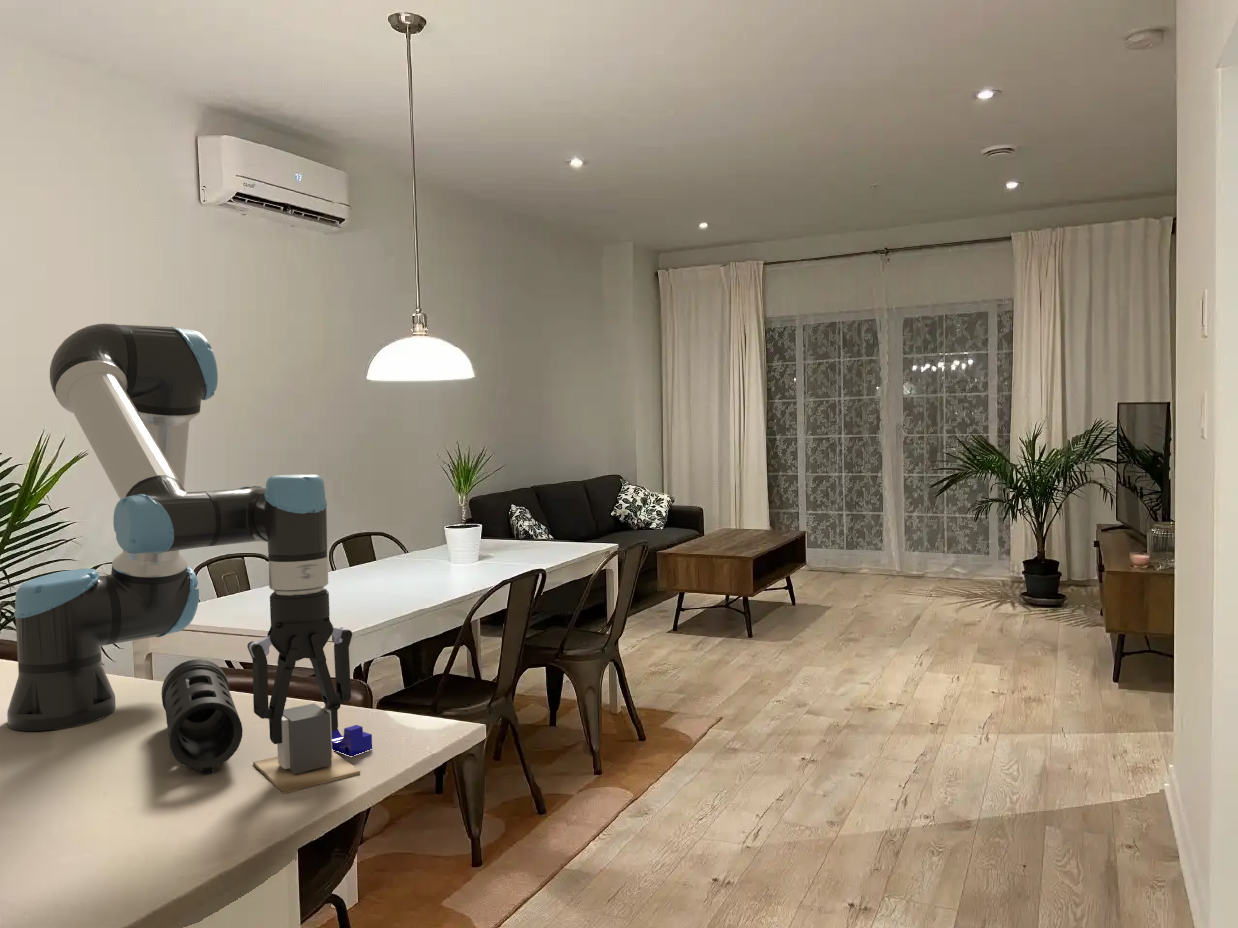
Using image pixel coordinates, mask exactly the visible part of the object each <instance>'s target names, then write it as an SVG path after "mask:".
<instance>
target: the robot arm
mask: <svg viewBox="0 0 1238 928" xmlns="http://www.w3.org/2000/svg"><path fill="white" fill-rule="evenodd" d="M218 373H219V372H218V364H217V359H216V356H215V353H214V350H213V348H212V346H211V343H210V342H209V341H208V340H207V338H206V337H205V336H204V335H203V334H202V333H201V332H199V331H196V330H194V329H187V328H181V327H180V328H179V327H174V326H160V325H159V326H158V325H156V326H155V325H138V324H133V325H132V324H115V323H97V324H92V325H88V326H85V327H82V328H81V329H79V330H77V331H75V332H74V333H71V335H69V336H68V337H67V338H64V340H63V342H62V343H61V344H60V345H59V346H58V347H57V349H56V350H55V352H54V354H53V356H52V360H51V362H50V367H49V381H50V382H49V383H50V385H51V390H52V392H53V394H54V396H55V398H56V400H57V402H58V403H59V404H60V407H62V408H64V410H66V411H68V412H70V413H71V414H74V417H75V418H76V420H77V422H78V424H79V426H80V427H81V430H82V431H83V433H84V435H85V437H86V439H87V441H88V443H89V445H90V446H91V448H92V450H93V452H94V453H95V456H96V457H97V459H98V461H99V463H100V465H101V466H102V467H101V468H102V469H103V470H104V472H105V475H106V476H107V478H108V480H109V482H110V484H111V486H112V487H113V488H114V490H115V493H116V494H117V496H118V498H119V500H118V501H117V503H116V505H115V507H114V511H113V521H112V522H113V530H114V532H115V540H116V542H117V544H118V546H119V547H120V548H121V549H122V552H121V553H120V554H118V555H117V556H116V557H115V558H113V559H112V562H111V573H110V574H107V575H105V574H104V575H100V573H98V570H96V569H94V568H78V569H77V568H76V569H72V570H64V571H63V570H62V571H58V572H53V573H50V574H49V573H48V574H45V575H42V576H38V577H35V578H32V579H30V580H28V581H26V582H24V583H22V584H21V585H20V586H19V587H18V588H17V589H16V592H15V602H14V612H13V616H14V618H15V630H16V633H15V634H16V647H17V649H16V650H17V652H16V653H17V667H18V668H17V670H18V675H17V679H16V682H15V686H14V690H13V692H12V696H11V698H10V699H11V700H10V702H9V705H8V709H7V713H6V715H7V726H8V727H9V728H10V729H12V730H15V731H23V732H39V731H40V732H41V731H51V730H59V729H65V728H71V727H72V728H73V727H77V726H81V725H86V724H89V723H93V722H95V721H99V720H101V719H103V718H105V717H108V716H110V715H111V714H113V713H114V712H115V711H116V709H117V708H116V707H117V705H116V703H117V701H116V694H115V691H114V690H113V687H112V685H111V683H110V680H109V678H108V676H107V674H106V671H105V669H104V666H103V664H102V662H103V661H102V647H103V646H109V645H110V646H111V645H115V644H120V643H127V642H128V643H129V642H132V641H138V640H139V641H140V640H145V639H150V638H151V639H152V638H162V637H164V636H167V635H171V634H175V633H179V632H182V631H184V630H185V628H187V627H188V626H189V625H190V624H191V623H192V621H193V620H194V617H195V616H196V614H197V610H198V606H199V599H200V589H199V588H198V585H199V580H198V577H197V575H196V574H197V573H195V571H194V569H192V568H191V567H190V566H188V561H187V559H186V558H185V557H184V556H183V555H181V554H180V551H184V550H192V549H198V548H207V547H215V546H216V547H218V546H226V545H228V546H229V545H237V544H244V543H245V544H247V543H254V542H255V543H256V542H263V543H267V553H268V554H267V555H268V556H267V559H268V587H269V589H270V590H272V591H273V592H272V593H271V594H270V595H269V613H270V614H269V615H270V628H269V630H268V632H267V636H265V637H263V638H261V639H259V640H257V641H253V640H252V641H250V642H248V644H247V647H246V648H247V649H248V652H249V654H250V657H251V659H252V661H251V662H252V694H253V695H252V696H253V699H252V700H253V701H252V702H253V713H254V714H255V715H256V716H257V717H259V718H260V719H263V720H265V719H267V720H268V721H269V723H268V725H269V739H270V742H271V743H272V744H274V745H277V756H278V764H279V765H280V766H282V767H283V768H284V769H288V768H290V749H289V723H288V719H287V718H286V717H284V716H283V712H284V709H286V708H285V707H286V702H287V697H288V693H289V688H290V684H291V679H292V674H293V671H294V669H295V667H296V663H297V662H298V661H300V660H302V659H309V660H310V662H311V665H312V669H313V672H314V675H315V679H316V682H317V685H318V689H319V691H320V694H321V698H322V702H323V704H324V705H323V706H320V707H321V708H322V709H324V710H325V711H327V712H328V713H330V731H331V758H333V755H332V731H337V728H338V729H339V717H338V715H339V712H338V710H339V709H340V708H341V707H342V706H341V705H342V704H343V703H346V702H349V701H350V700H351V698H352V689H351V672H350V671H351V669H350V667H351V666H350V644H351V641H352V638H353V631H352V630H350V629H349V628H345V627H335V626H334V624H333V623H332V622H331V620H330V592H329V591H328V589H327V588H325V587H326V586H327V585H329V568H328V567H329V564H328V559H329V558H328V530H327V529H328V525H327V524H328V522H327V520H328V519H327V518H328V517H327V513H328V511H327V507H328V501H327V499H326V491H325V482H324V479H323V478H322V477H321V476H320V475H318V474H312V473H311V474H303V473H302V474H280V475H272V476H270V477H269V478H267V480H266V482H265V487H262V486H259V485H254V486H242V487H238V488H236V489H235V488H234V489H221V490H219V489H218V490H203V491H186V489H185V481H186V466H187V453H188V442H189V433H190V432H189V429H190V422H191V420H193V419H194V418H196V417H197V416H198V415H199V414H201V403H202V401H207V400H209V399H211V398H212V397H213V396H214V395H215V392H216V390H217V387H218V381H219V380H218V377H219V376H218ZM330 638H331V641H332V643H334V644H333V657H334V659H333V660H334V677H335V678H334V679H335V680H334V681H335V688H334V684H333V681H332V680H333V679H332V678H331V674H330V671H329V667H328V664H327V658H326V654H325V651H324V648H325V646H326V644H327V643H328V642H329V639H330ZM271 645H272V647H273V648H274V649H275V650H276V651H277V652H278V653H279V654H278V657H277V658H278V659H277V668H276V671H275V672H276V673H275V677H274V680H273V681H274V683H273V687H272V689H271V690H272V691H271V697H270V698H269V675H268V674H269V671H268V670H269V669H268V666H269V665H268V658H267V656H268V655H269V654H270V647H271ZM269 699H270V700H269Z"/></svg>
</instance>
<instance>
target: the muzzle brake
mask: <svg viewBox="0 0 1238 928" xmlns="http://www.w3.org/2000/svg"><path fill="white" fill-rule="evenodd" d="M223 670H224V669H222V668H221V667H220V666H219V665H218V664H216V663H215V662H212V661H210V660H207V659H190V660H187V661H184V662H181V663H180V664H178V665H176V666H175V667H174V668H172V670H171V671H170V672H168V674H166V676H165V678H164V680H163V682H162V685H161V693H160V694H161V703H162V706H163V709H164V711H165V717H166V719H165V720H166V725H167V733H168V734H167V735H168V742H169V748H170V752H171V754H172V755H173V757H174V758H175V759H176V761H178V763H180V764H181V765H183V766H185V767H186V768H190V769H192V770H201V773H202V774H203V775H207V774H212V773H214V768H216V767H219V766H221V765H222V764H224V763H226V762H227V761H228V760H229V759H231V757H233V756H234V755H235V753H236V752H237V751H238V749H239V746H240V745H241V742H242V739H243V725H242V724H243V723H242V721H241V718H240V716H239V712H238V710H237V708H236V704H235V703H234V700H233V698H232V695H231V692H230V690H231V689H230V684H229V681H228V678H227V675H226V674H225V672H224V671H223Z"/></svg>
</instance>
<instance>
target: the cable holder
mask: <svg viewBox="0 0 1238 928" xmlns="http://www.w3.org/2000/svg"><path fill="white" fill-rule="evenodd" d="M363 727H364V726H361V725H358V724H354V725H351V726H347V727H345V728H344V729H343V735H342V734H341V732H340V730H339V727H338V728H337V731H332V749H333V750H335V751H339V752H341V753H344V754H346V755H349V756H354V755H356V754H359V753H362V752H365V751H367V750H370V749H372V750H373V734H372V733H369V732H366V731H364V728H363Z"/></svg>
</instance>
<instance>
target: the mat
mask: <svg viewBox="0 0 1238 928" xmlns="http://www.w3.org/2000/svg"><path fill="white" fill-rule="evenodd" d="M332 755H333V758H331V759H332V765H329V766H325V767H321V768H317V769H313V770H309V771H305V772H301V773H297V774H294V773H292V772H291V771H290V770H289V769H284V768H283V767H282V766H280V765H279V764H278V755H277V756H273V757H269V758H265V759H260V760H256V761H253V763H252V764H253V766H254V767H255V768H256V769H257V770H258V771H259V772H261V774H262V775H264V777H266V778H267V779H268V780H269V781H270V782H272V784H274V785H275V786H276V787H277V788H278V790H280V791H281V792H282V793H283V794H288V793H290V792H294V791H298V790H304V789H306V788H310V787H314V786H318V785H323V784H325V783H326V784H327V783H329V782H333V781H337V780H338V781H339V780H342V779H345V778H346V779H347V778H350V777H354V776H357V775H361V770H360V769H359V768H357V767H356V766H355V765H352V764H351V763H350V762H349V761H347V760H346V759H345V758H343V757H342V756H340V755H339V753H337V752H334V751H332Z"/></svg>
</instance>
